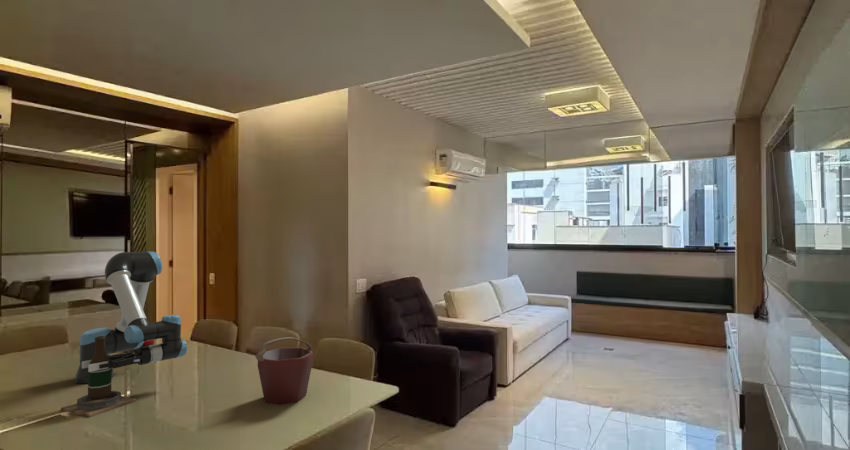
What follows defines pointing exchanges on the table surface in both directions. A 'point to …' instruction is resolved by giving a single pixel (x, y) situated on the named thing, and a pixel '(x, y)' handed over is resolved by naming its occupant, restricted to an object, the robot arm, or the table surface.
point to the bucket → (284, 372)
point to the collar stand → (97, 404)
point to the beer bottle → (99, 372)
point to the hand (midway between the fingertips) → (85, 366)
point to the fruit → (147, 343)
